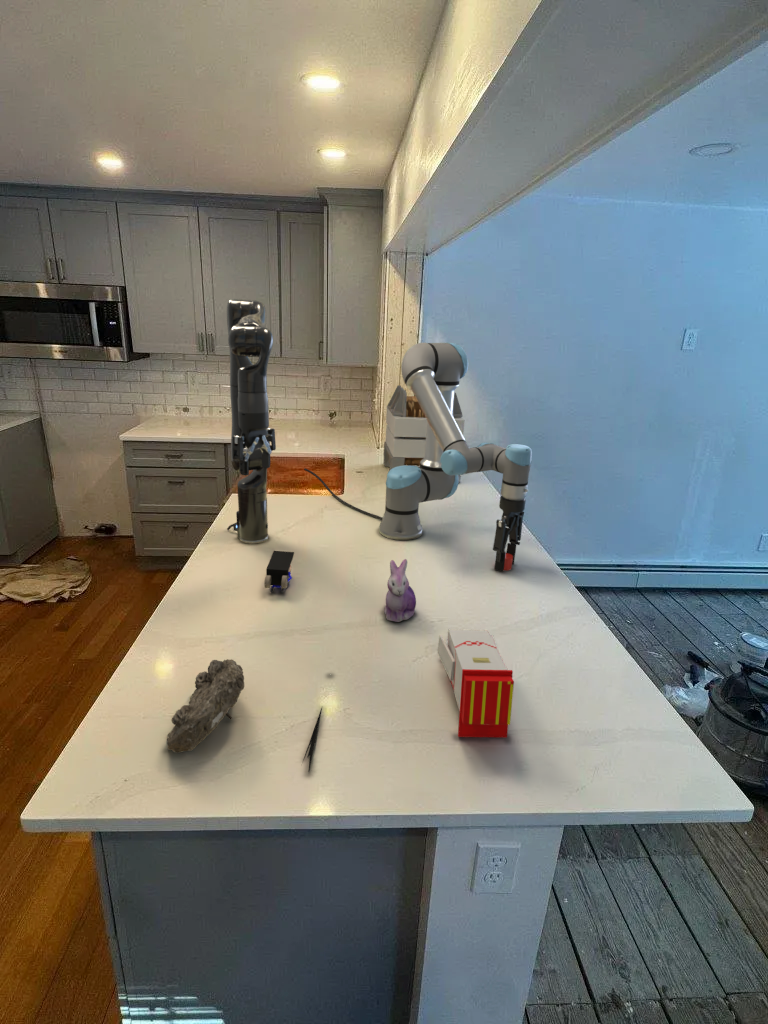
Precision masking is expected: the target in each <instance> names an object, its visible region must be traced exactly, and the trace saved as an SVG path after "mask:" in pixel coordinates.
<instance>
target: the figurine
mask: <svg viewBox="0 0 768 1024" xmlns="http://www.w3.org/2000/svg"><path fill="white" fill-rule="evenodd" d="M407 567H408V559H406V558H404V559H403V560H402V561H401V563H400V565H399V566H398V565H397V563H396V562H395V561H394V560H393V559H391V560H390V561H389V570H390V576H389V578H388V579H387V589H388V591H387V592H386V594H385V595H386V596H385V607H384V615H385V616H386V620H387V621H391V622H395V623H400V622H402V621H406V620H409V619H410V618H411V617H413V616H414V615H415V610H416V606H417V597H416V593H415V591H414V590H413V587H411V586H410V582H409V579H408V577H407V574H406V571H407Z"/></svg>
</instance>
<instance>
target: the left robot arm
mask: <svg viewBox="0 0 768 1024" xmlns="http://www.w3.org/2000/svg"><path fill="white" fill-rule="evenodd" d="M226 324H227V335H228V337H227V343H228V348H229V392H230V393H229V394H230V395H229V397H230V413H231V434H230V436H231V438H230V461H231V465H232V468H233V469H234V470H235V471H236V472H239V473H240V475H242V476H245V477H243V478H241V479H240V480H238V481H237V485H236V487H237V504H238V505H237V506H238V510H237V511H236V512H235V515H236V522H234V523H232V524H229V526H228V527H227V528H226V530H227V531H230V529H231V528H232V529H233V532H236V534H237V535H236V536H237V539H238V540H239V541H241V542H242V543H244V544H260V543H264V542H266V541H267V540H269V521H268V519H269V518H268V491H267V490H268V489H267V487H268V486H267V485H268V469H269V468H271V455H272V453H273V451H276V449H277V447H276V446H277V445H276V443H277V442H276V429H275V428H271V427H270V415H269V414H270V413H269V408H270V407H269V398H268V397H269V395H268V368H269V367H268V366H269V361H270V357H271V355H272V350H273V345H274V336H273V333H272V331H271V330H270V328H268V327H267V309H266V306H265V304H264V303H263V302H262V301H260V300H255V299H252V300H251V299H240V298H239V299H238V298H230V299H229V300H228V301H227V305H226ZM250 357H257V358H258V359H257V361H256V362H255V363H253V362H252V361H251V359H250ZM250 471H251V472H250Z"/></svg>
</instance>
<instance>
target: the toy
mask: <svg viewBox="0 0 768 1024" xmlns="http://www.w3.org/2000/svg"><path fill="white" fill-rule="evenodd" d="M446 640H447V643H446V641H445V639H444V636H443V635H442V634H439V637H438V646H437V656H438V657H439V659H440V661H441V663H442V666H443V668H444V670H445V672H446V674H447V677H448V679H449V681H450V684H451V687H452V690H453V693H454V697H455V701H456V705H457V708H458V711H459V714H458V715H459V716H458V730H457V731H458V732H457V737H458V738H508V731H509V726H510V725H511V717H512V707H513V697H514V696H513V695H514V684H515V680H514V679H513V673H514V671H513V670H512V669H508V667H507V665H506V662H505V661H504V659H503V658H502V655H501V653H500V651H499V649H498V647H497V643H496V639H495V637H494V635H493V634H491V632H490V631H489V629H467V628H466V629H465V628H463V629H461V628H460V629H459V628H448V630H447V639H446Z"/></svg>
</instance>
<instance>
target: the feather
mask: <svg viewBox="0 0 768 1024" xmlns="http://www.w3.org/2000/svg"><path fill="white" fill-rule="evenodd" d="M329 675H330V676H331V675H332V674H331V673H330V674H329ZM322 710H323V707H321V708H320V710H319V713H318V716H317V719H316V723H315V725H314V728H313V731H312V733H311V737H310V739H309V742H308V745H307V748H306V751H305V754H304V757H303V760H302V763H301V767H302V765H303V763H304V761H305V758H308V759H309V760H308V762H307V763H308V764H307V766H308V771H310V770H311V766H312V765H311V764H312V760H313V757H315V756H314V755H315V751H316V749H315V746H317V739H318V733H319V729H320V722H321V717H322V712H323V711H322ZM313 754H314V755H313ZM306 755H307V757H306Z"/></svg>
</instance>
